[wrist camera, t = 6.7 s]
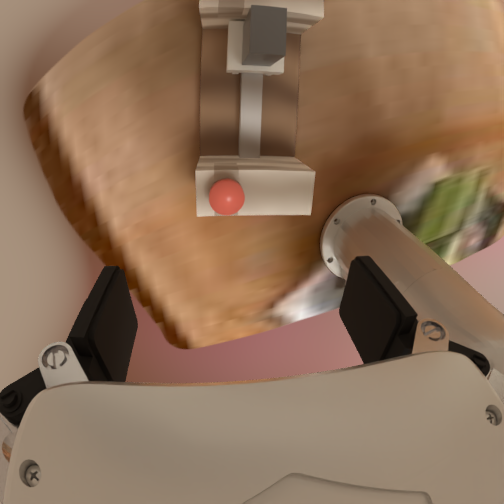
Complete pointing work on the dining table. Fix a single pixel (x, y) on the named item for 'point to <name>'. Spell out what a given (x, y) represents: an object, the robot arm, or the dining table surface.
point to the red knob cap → (226, 196)
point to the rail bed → (228, 100)
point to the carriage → (258, 42)
